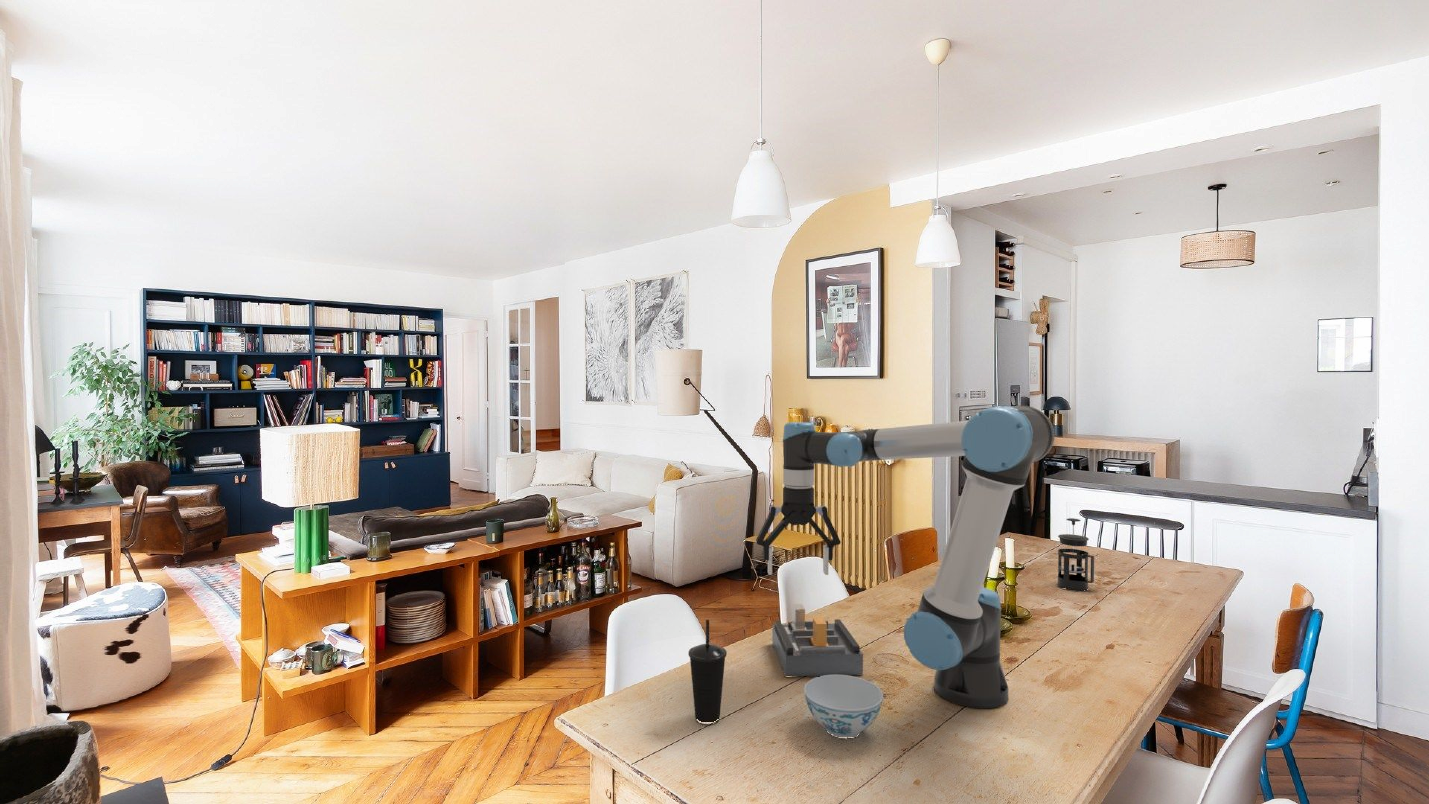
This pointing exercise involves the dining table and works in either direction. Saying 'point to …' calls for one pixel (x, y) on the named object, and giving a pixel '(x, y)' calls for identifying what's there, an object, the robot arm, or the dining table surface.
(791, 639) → the grey compartment box
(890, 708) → the dining table surface
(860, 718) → the chinaware
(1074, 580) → the french press
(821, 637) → the switch
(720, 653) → the drinking cup
